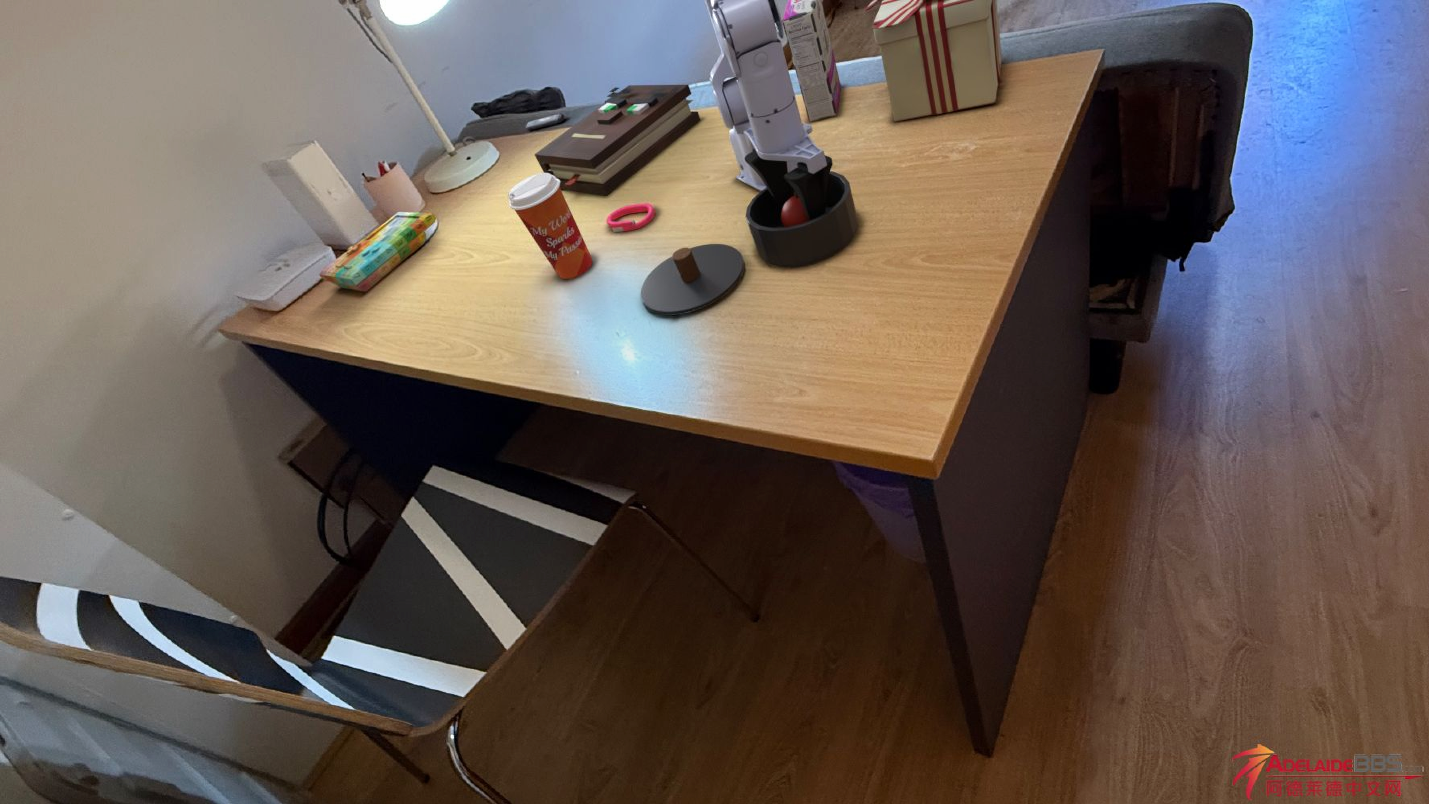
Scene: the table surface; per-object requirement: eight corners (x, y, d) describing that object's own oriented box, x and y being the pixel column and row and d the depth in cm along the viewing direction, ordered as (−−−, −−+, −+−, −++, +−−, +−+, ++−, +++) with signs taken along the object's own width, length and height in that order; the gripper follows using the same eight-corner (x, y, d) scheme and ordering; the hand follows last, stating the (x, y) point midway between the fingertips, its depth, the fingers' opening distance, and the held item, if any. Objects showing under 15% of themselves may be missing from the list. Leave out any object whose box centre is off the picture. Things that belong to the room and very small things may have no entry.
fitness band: (603, 233, 113) (599, 225, 112) (619, 212, 116) (615, 204, 115) (646, 229, 109) (642, 221, 108) (661, 208, 112) (657, 199, 111)
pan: (740, 246, 96) (727, 211, 93) (818, 197, 99) (808, 161, 95) (794, 280, 87) (782, 242, 83) (879, 225, 89) (871, 186, 85)
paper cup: (561, 290, 104) (512, 207, 95) (546, 271, 110) (499, 191, 101) (607, 263, 105) (562, 178, 96) (590, 246, 111) (547, 164, 102)
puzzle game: (315, 270, 130) (396, 207, 140) (332, 290, 133) (411, 228, 143) (347, 275, 123) (430, 209, 133) (364, 296, 126) (444, 230, 136)
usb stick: (527, 132, 161) (523, 125, 160) (531, 126, 163) (528, 120, 162) (561, 123, 158) (558, 116, 157) (566, 118, 159) (563, 111, 158)
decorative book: (518, 156, 128) (631, 75, 140) (538, 193, 133) (646, 111, 145) (581, 163, 116) (699, 73, 128) (601, 204, 121) (713, 113, 133)
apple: (778, 236, 94) (767, 194, 90) (810, 217, 95) (800, 175, 91) (801, 249, 90) (789, 205, 86) (834, 229, 91) (824, 185, 87)
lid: (627, 291, 98) (613, 263, 95) (712, 238, 100) (701, 209, 97) (672, 333, 87) (657, 303, 84) (766, 273, 90) (755, 242, 87)
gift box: (881, 85, 117) (861, -29, 106) (1002, 57, 110) (994, -68, 99) (871, 135, 106) (847, 14, 95) (1005, 108, 99) (997, -27, 88)
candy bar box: (812, 94, 124) (788, -7, 113) (841, 86, 122) (819, -16, 111) (807, 124, 116) (780, 19, 106) (837, 116, 114) (813, 9, 104)
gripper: (836, 98, 77) (860, 207, 86) (765, 78, 88) (793, 177, 96) (783, 130, 76) (813, 237, 85) (718, 106, 86) (751, 203, 95)
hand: (800, 207), depth 90 cm, fingers open, 7 cm apart
